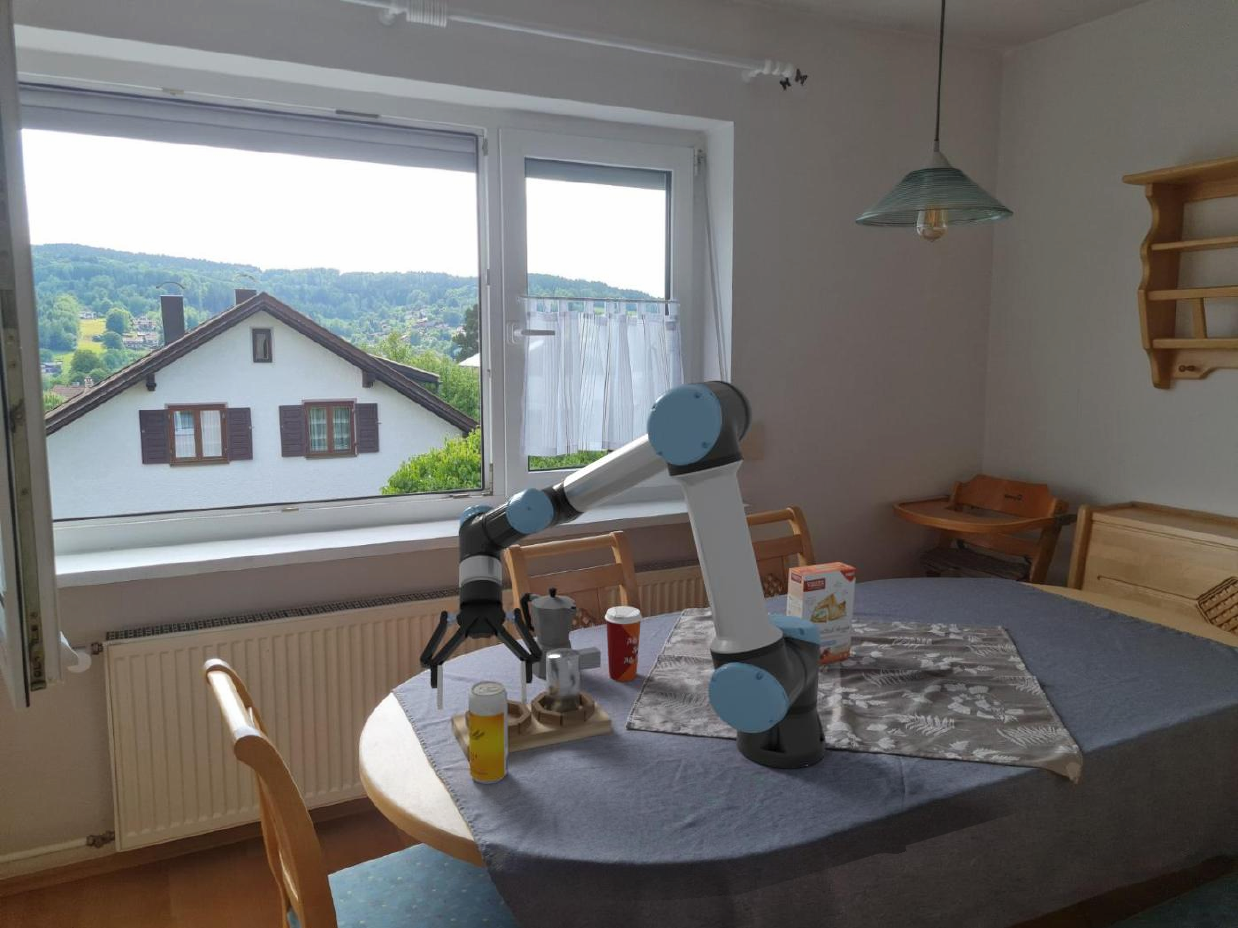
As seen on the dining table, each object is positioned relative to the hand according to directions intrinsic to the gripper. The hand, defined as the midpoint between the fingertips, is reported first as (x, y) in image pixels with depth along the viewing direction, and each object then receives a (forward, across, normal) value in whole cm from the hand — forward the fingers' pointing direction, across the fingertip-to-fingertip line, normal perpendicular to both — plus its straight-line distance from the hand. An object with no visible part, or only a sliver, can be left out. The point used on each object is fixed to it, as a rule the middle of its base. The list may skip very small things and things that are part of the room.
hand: (482, 704), depth 140 cm
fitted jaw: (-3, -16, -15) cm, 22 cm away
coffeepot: (-19, -14, -34) cm, 42 cm away
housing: (0, -9, -15) cm, 17 cm away
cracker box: (-17, -72, -33) cm, 81 cm away
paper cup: (-15, -29, -31) cm, 45 cm away
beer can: (+10, -1, -5) cm, 11 cm away
